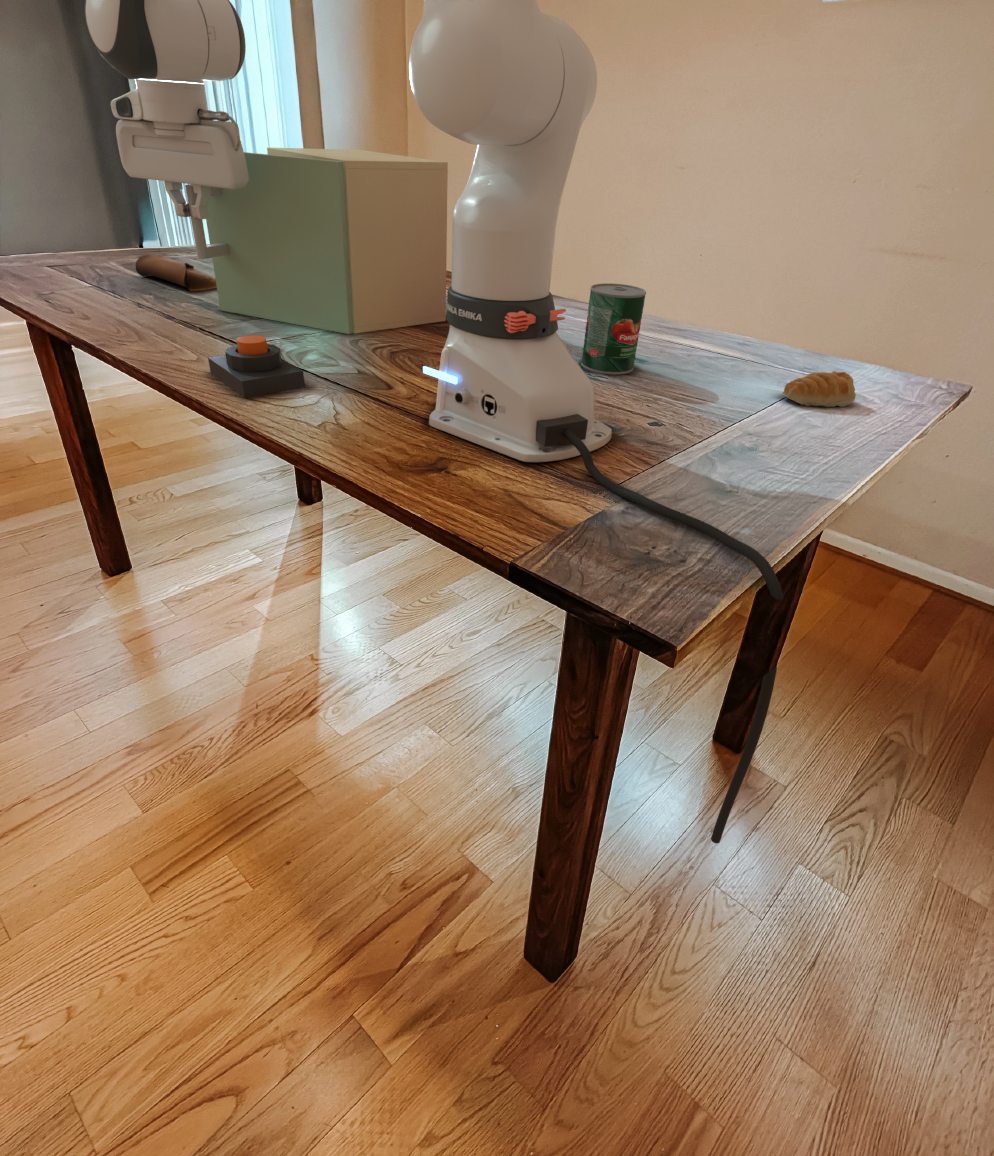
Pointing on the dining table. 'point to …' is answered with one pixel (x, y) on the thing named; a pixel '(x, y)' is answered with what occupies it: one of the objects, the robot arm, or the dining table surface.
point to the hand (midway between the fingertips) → (192, 217)
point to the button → (252, 345)
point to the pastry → (822, 389)
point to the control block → (256, 372)
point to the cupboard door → (281, 242)
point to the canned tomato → (612, 328)
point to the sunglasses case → (175, 272)
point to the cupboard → (392, 235)
